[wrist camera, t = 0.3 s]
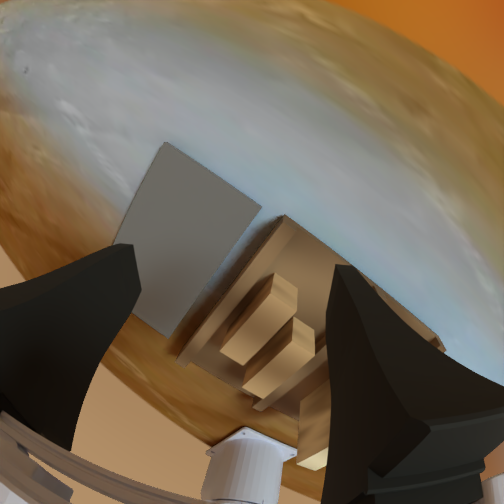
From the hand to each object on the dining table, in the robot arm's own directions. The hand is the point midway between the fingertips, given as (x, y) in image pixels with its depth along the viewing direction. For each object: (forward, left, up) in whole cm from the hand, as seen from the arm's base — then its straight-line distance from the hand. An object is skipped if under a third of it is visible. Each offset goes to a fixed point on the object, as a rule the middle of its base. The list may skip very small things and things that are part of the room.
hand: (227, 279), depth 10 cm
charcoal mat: (-7, +4, -11) cm, 13 cm away
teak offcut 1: (-6, -4, -10) cm, 12 cm away
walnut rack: (-7, -10, -11) cm, 16 cm away
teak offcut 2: (-8, -7, -10) cm, 14 cm away
